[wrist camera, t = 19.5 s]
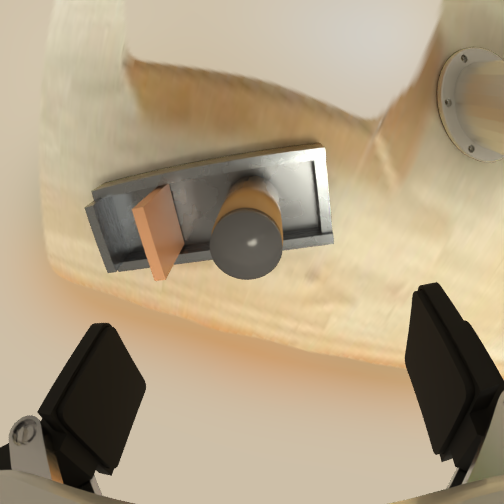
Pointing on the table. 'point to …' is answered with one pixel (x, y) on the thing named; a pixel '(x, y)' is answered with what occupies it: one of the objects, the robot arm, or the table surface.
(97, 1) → the table surface
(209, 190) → the tray
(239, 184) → the jar
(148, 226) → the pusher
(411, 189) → the table surface
